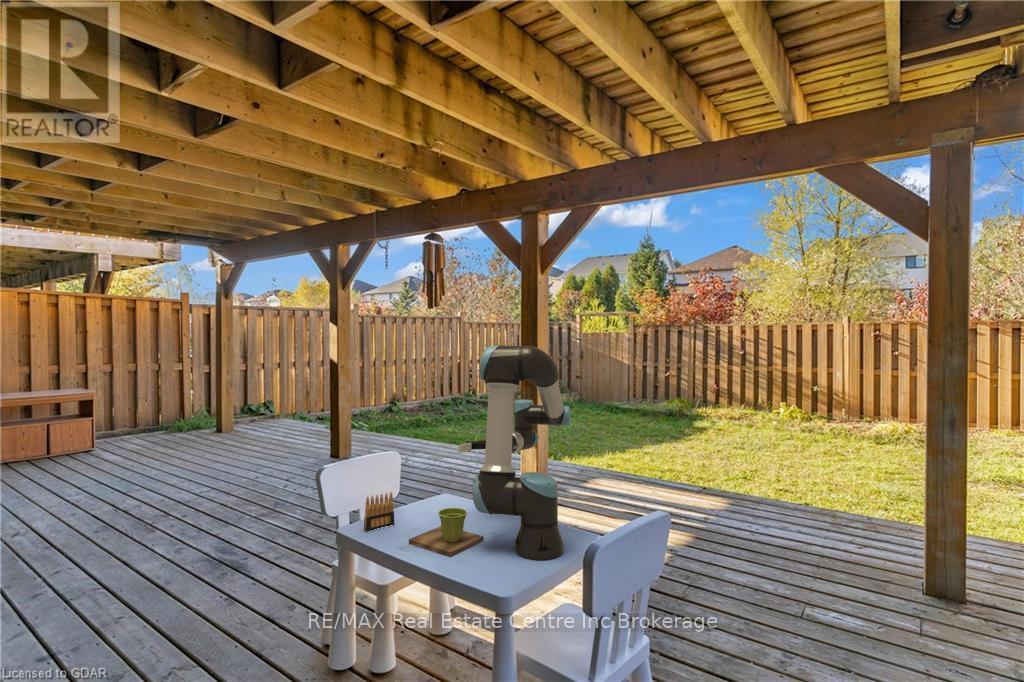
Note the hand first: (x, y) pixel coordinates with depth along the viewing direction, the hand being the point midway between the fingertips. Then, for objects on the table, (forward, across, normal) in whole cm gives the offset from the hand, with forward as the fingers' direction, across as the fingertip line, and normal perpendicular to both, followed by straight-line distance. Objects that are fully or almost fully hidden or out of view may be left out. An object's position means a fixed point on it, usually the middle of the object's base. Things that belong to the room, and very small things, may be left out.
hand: (473, 451), depth 180 cm
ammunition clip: (+17, +28, -28) cm, 43 cm away
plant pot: (+13, -2, -26) cm, 29 cm away
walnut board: (+13, 0, -28) cm, 31 cm away
